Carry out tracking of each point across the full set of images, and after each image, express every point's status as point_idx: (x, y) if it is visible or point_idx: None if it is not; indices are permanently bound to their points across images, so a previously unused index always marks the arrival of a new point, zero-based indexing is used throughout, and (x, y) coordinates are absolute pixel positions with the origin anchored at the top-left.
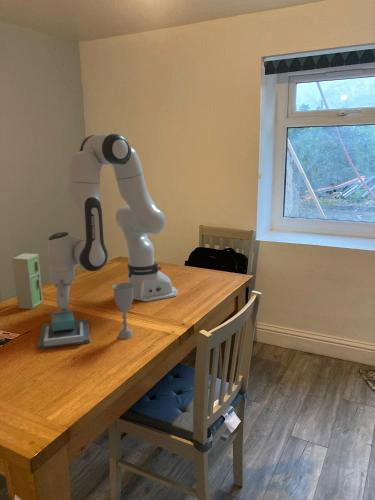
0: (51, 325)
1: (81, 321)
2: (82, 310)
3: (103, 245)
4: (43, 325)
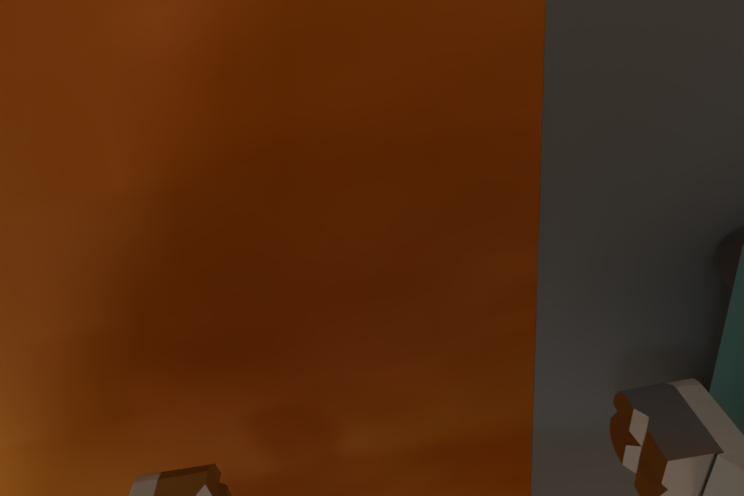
0: None
1: (717, 73)
2: (63, 156)
3: None
4: (618, 493)
